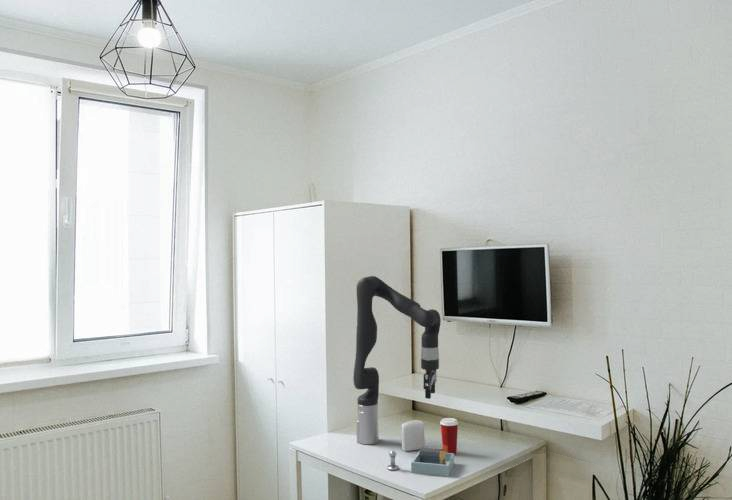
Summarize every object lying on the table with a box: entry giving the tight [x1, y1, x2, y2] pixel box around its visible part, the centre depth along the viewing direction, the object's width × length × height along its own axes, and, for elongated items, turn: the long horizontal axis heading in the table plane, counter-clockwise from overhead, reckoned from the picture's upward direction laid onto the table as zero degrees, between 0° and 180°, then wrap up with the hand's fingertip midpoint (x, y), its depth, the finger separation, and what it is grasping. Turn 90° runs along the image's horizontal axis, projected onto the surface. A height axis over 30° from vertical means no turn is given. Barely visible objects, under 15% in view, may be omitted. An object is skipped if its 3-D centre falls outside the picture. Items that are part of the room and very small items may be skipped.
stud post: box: [386, 450, 399, 472], centre depth 228 cm, size 4×4×7 cm
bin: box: [410, 451, 455, 477], centre depth 228 cm, size 14×14×4 cm
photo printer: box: [400, 419, 426, 452], centre depth 251 cm, size 10×4×12 cm, turn 107°
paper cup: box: [439, 417, 459, 456], centre depth 245 cm, size 8×8×14 cm
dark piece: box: [418, 447, 446, 465], centre depth 228 cm, size 4×10×6 cm, turn 72°
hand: (430, 395), depth 244 cm, fingers open, 8 cm apart
